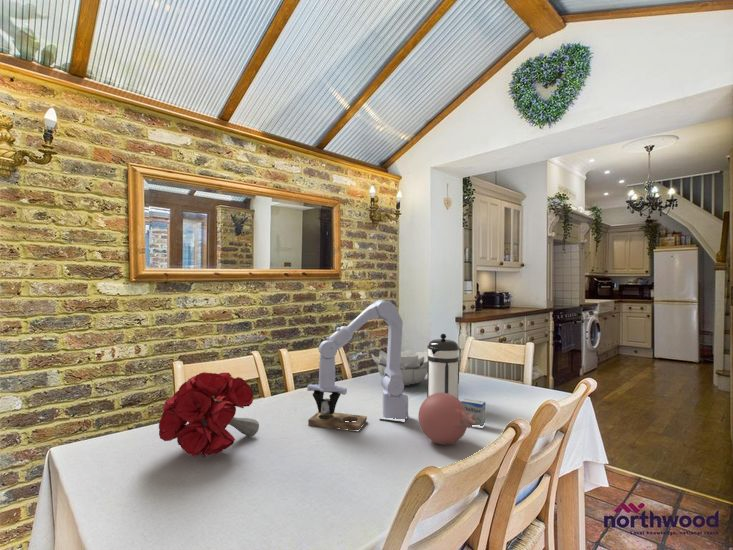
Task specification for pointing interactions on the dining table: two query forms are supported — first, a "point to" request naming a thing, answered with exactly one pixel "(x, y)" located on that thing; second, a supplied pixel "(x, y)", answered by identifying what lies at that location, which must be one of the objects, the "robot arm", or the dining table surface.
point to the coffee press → (443, 367)
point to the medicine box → (475, 410)
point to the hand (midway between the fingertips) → (326, 412)
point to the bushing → (325, 409)
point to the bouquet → (207, 413)
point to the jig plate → (338, 421)
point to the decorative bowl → (407, 365)
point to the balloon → (444, 418)
